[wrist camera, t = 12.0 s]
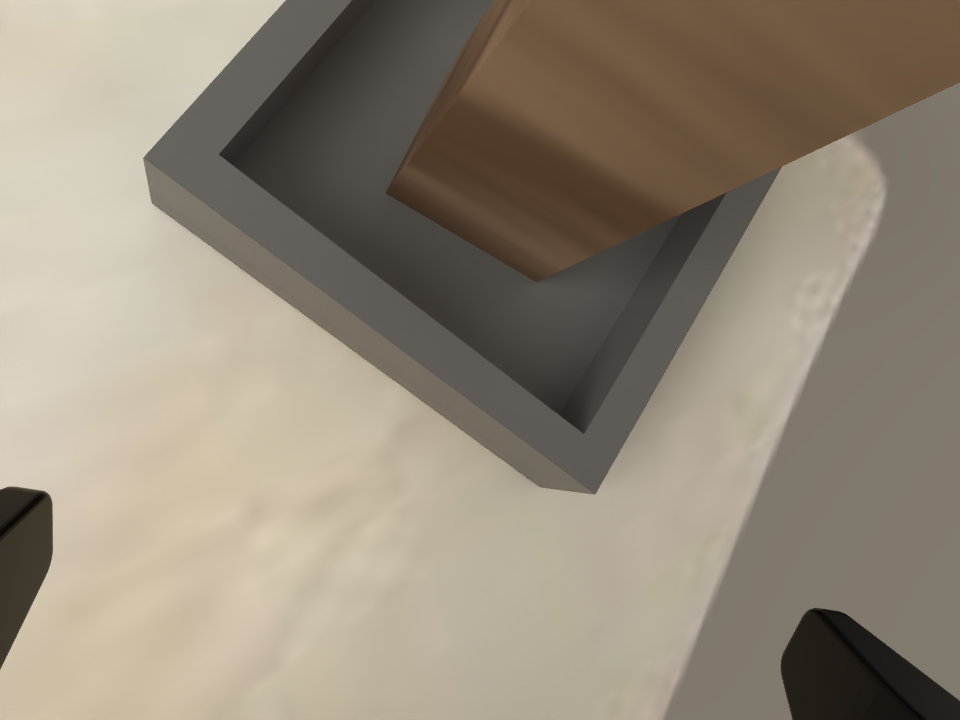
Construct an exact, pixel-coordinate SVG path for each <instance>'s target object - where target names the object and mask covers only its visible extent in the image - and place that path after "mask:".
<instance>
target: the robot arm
mask: <svg viewBox="0 0 960 720" xmlns="http://www.w3.org/2000/svg"><path fill="white" fill-rule="evenodd" d="M52 554H53V514H52V500H51V497H50V495H49V494H48V493H46V492H45V491H41V490H34V489H27V488H21V487H6V488H4V489H1V490H0V669H1V667H2V665H3V663H4V661H5V659H6V657H7V655H8V653H9V651H10V649H11V647H12V645H13V642H14V640H15V638H16V636H17V634H18V632H19V630H20V628H21V626H22V624H23V622H24V620H25V618H26V616H27V614H28V612H29V610H30V607H31V605H32V603H33V601H34V599H35V597H36V595H37V593H38V591H39V589H40V587H41V585H42V583H43V581H44V579H45V577H46V574H47V572H48V570H49V567H50V563H51V560H52ZM781 675H782V680H783V684H784V687H785V692H786V695H787V700H788V704H789V708H790V712H791V715H792V720H960V701H959V700H958V699H957V698H955V697H954V696H953V695H951V694H950V693H949V692H948V691H946V690H945V689H944V688H942V687H941V686H940V685H938V684H937V683H936V682H934V681H933V680H932V679H930V678H929V677H928V676H927V675H925V674H924V673H923V672H921V671H920V670H919V669H917V668H916V667H915V666H913V665H912V664H911V663H910V662H908V661H907V660H906V659H904V658H903V657H901V656H900V655H899V654H898V653H896V652H895V651H894V650H892V649H891V648H890V647H888V646H887V645H886V644H885V643H883V642H882V641H881V640H879V639H878V638H877V637H875V636H874V635H873V634H871V633H870V632H869V631H868V630H866V629H865V628H863V627H862V626H861V625H860V624H858V623H857V622H856V621H854V620H853V619H852V618H851V617H849V616H848V615H846V614H844V613H842V612H839V611H833V610H826V609H820V608H813V609H810V610H808V611H807V612H806V613H805V614H804V615H803V617H802V619H801V620H800V622H799V624H798V626H797V628H796V630H795V632H794V634H793V636H792V637H791V639H790V641H789V643H788V645H787V647H786V649H785V650H784V653H783V655H782V659H781Z"/></svg>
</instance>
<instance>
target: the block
mask: <svg viewBox="0 0 960 720" xmlns="http://www.w3.org/2000/svg"><path fill="white" fill-rule="evenodd" d="M959 82H960V0H494V1H493V2H492V4H491V5H490V7H489V8H488V10H487V11H486V13H485V14H484V16H483V17H482V19H481V20H480V21H479V23H478V24H477V26H476V27H475V29H474V30H473V32H472V33H471V35H470V36H469V38H468V39H467V41H466V42H465V44H464V45H463V47H462V48H461V50H460V51H459V53H458V55H457V57H456V59H455V61H454V63H453V65H452V67H451V69H450V71H449V73H448V74H447V76H446V78H445V80H444V82H443V84H442V86H441V88H440V90H439V92H438V94H437V95H436V97H435V99H434V101H433V103H432V105H431V107H430V109H429V111H428V113H427V115H426V116H425V118H424V120H423V122H422V124H421V126H420V128H419V130H418V132H417V134H416V136H415V137H414V139H413V141H412V143H411V145H410V147H409V149H408V151H407V153H406V155H405V157H404V158H403V160H402V162H401V164H400V166H399V168H398V170H397V172H396V174H395V176H394V178H393V179H392V181H391V183H390V185H389V187H388V189H387V191H386V194H387V195H389V196H391V197H393V198H394V199H396V200H398V201H399V202H401V203H403V204H404V205H406V206H408V207H409V208H411V209H413V210H415V211H416V212H418V213H420V214H421V215H423V216H425V217H426V218H428V219H430V220H431V221H433V222H435V223H437V224H438V225H440V226H442V227H443V228H445V229H447V230H448V231H450V232H452V233H453V234H455V235H457V236H459V237H460V238H462V239H464V240H465V241H467V242H469V243H470V244H472V245H474V246H476V247H477V248H479V249H481V250H482V251H484V252H486V253H487V254H489V255H491V256H492V257H494V258H496V259H498V260H499V261H501V262H503V263H504V264H506V265H508V266H509V267H511V268H513V269H514V270H516V271H518V272H520V273H521V274H523V275H525V276H526V277H528V278H530V279H531V280H533V281H535V282H538V281H540V280H542V279H544V278H547V277H549V276H551V275H553V274H555V273H557V272H559V271H561V270H563V269H566V268H568V267H570V266H572V265H574V264H576V263H578V262H580V261H583V260H585V259H587V258H589V257H591V256H593V255H595V254H597V253H599V252H602V251H604V250H606V249H608V248H610V247H612V246H614V245H616V244H618V243H621V242H623V241H625V240H627V239H629V238H631V237H633V236H635V235H638V234H640V233H642V232H644V231H646V230H648V229H650V228H652V227H654V226H657V225H659V224H661V223H663V222H665V221H667V220H669V219H671V218H673V217H676V216H678V215H680V214H682V213H684V212H686V211H688V210H690V209H693V208H695V207H697V206H699V205H701V204H703V203H705V202H707V201H709V200H712V199H714V198H716V197H718V196H720V195H722V194H724V193H726V192H728V191H731V190H733V189H735V188H737V187H739V186H741V185H743V184H745V183H748V182H750V181H752V180H754V179H756V178H758V177H760V176H762V175H764V174H767V173H769V172H771V171H773V170H775V169H777V168H779V167H781V166H783V165H786V164H788V163H790V162H792V161H794V160H796V159H798V158H800V157H802V156H805V155H807V154H809V153H811V152H813V151H815V150H817V149H819V148H822V147H824V146H826V145H828V144H830V143H832V142H834V141H836V140H838V139H841V138H843V137H845V136H847V135H849V134H851V133H853V132H855V131H857V130H860V129H862V128H864V127H866V126H868V125H870V124H872V123H874V122H877V121H878V120H881V119H883V118H885V117H887V116H889V115H891V114H893V113H895V112H898V111H900V110H902V109H904V108H906V107H908V106H910V105H912V104H914V103H917V102H919V101H921V100H923V99H925V98H927V97H929V96H932V95H934V94H936V93H938V92H940V91H942V90H944V89H946V88H948V87H951V86H953V85H954V84H957V83H959Z"/></svg>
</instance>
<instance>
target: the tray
mask: <svg viewBox="0 0 960 720" xmlns="http://www.w3.org/2000/svg"><path fill="white" fill-rule="evenodd" d="M493 1H494V0H286V1H285V2H284V3H283V4H282V5H281V6H280V7H279V9H278V10H277V11H276V12H275V13H274V14H273V15H272V16H271V17H270V19H269V20H268V21H267V22H266V23H265V24H264V25H263V26H262V27H261V28H260V30H259V31H258V32H257V33H256V34H255V35H254V36H253V37H252V38H251V40H250V41H249V42H248V43H247V44H246V45H245V46H244V47H243V48H242V49H241V51H240V52H239V53H238V54H237V55H236V56H235V57H234V58H233V59H232V61H231V62H230V63H229V64H228V65H227V66H226V67H225V68H224V69H223V70H222V72H221V73H220V74H219V75H218V76H217V77H216V78H215V79H214V80H213V82H212V83H211V84H210V85H209V86H208V87H207V88H206V89H205V90H204V91H203V93H202V94H201V95H200V96H199V97H198V98H197V99H196V100H195V101H194V103H193V104H192V105H191V106H190V107H189V108H188V109H187V110H186V111H185V112H184V114H183V115H182V116H181V117H180V118H179V119H178V120H177V121H176V122H175V124H174V125H173V126H172V127H171V128H170V129H169V130H168V131H167V132H166V133H165V135H164V136H163V137H162V138H161V139H160V140H159V141H158V142H157V143H156V145H155V146H154V147H153V148H152V149H151V150H150V151H149V152H148V153H147V154H146V156H145V157H144V158H143V159H144V164H145V170H146V175H147V180H148V185H149V191H150V196H151V201H152V204H154V205H155V206H157V207H158V208H159V209H161V210H162V211H163V212H165V213H166V214H167V215H169V216H170V217H172V218H173V219H174V220H176V221H177V222H178V223H180V224H181V225H182V226H184V227H185V228H187V229H188V230H189V231H191V232H192V233H193V234H195V235H196V236H198V237H199V238H200V239H202V240H203V241H204V242H206V243H207V244H208V245H210V246H211V247H213V248H214V249H215V250H217V251H218V252H219V253H221V254H222V255H224V256H225V257H226V258H228V259H229V260H230V261H232V262H233V263H234V264H236V265H237V266H239V267H240V268H241V269H243V270H244V271H245V272H247V273H248V274H249V275H251V276H252V277H254V278H255V279H256V280H258V281H259V282H260V283H262V284H263V285H265V286H266V287H267V288H269V289H270V290H271V291H273V292H274V293H275V294H277V295H278V296H280V297H281V298H282V299H284V300H285V301H286V302H288V303H289V304H291V305H292V306H293V307H295V308H296V309H297V310H299V311H300V312H301V313H303V314H304V315H306V316H307V317H308V318H310V319H311V320H312V321H314V322H315V323H316V324H318V325H319V326H321V327H322V328H323V329H325V330H326V331H327V332H329V333H330V334H332V335H333V336H334V337H336V338H337V339H338V340H340V341H341V342H342V343H344V344H345V345H347V346H348V347H349V348H351V349H352V350H353V351H355V352H356V353H357V354H359V355H360V356H362V357H363V358H364V359H366V360H367V361H368V362H370V363H371V364H373V365H374V366H375V367H377V368H378V369H379V370H381V371H382V372H383V373H385V374H386V375H388V376H389V377H390V378H392V379H393V380H394V381H396V382H397V383H399V384H400V385H401V386H403V387H404V388H405V389H407V390H408V391H409V392H411V393H412V394H414V395H415V396H416V397H418V398H419V399H420V400H422V401H423V402H424V403H426V404H427V405H429V406H430V407H431V408H433V409H434V410H435V411H437V412H438V413H440V414H441V415H442V416H444V417H445V418H446V419H448V420H449V421H450V422H452V423H453V424H455V425H456V426H457V427H459V428H460V429H461V430H463V431H464V432H466V433H467V434H468V435H470V436H471V437H472V438H474V439H475V440H476V441H478V442H479V443H481V444H482V445H483V446H485V447H486V448H487V449H489V450H490V451H491V452H493V453H494V454H496V455H497V456H498V457H500V458H501V459H502V460H504V461H505V462H507V463H508V464H509V465H511V466H512V467H513V468H515V469H516V470H517V471H519V472H520V473H522V474H523V475H524V476H526V477H527V478H528V479H530V480H531V481H532V482H534V483H535V484H537V485H538V486H539V487H542V488H550V489H557V490H565V491H573V492H580V493H588V494H596V492H597V490H598V488H599V487H600V485H601V483H602V481H603V480H604V478H605V476H606V474H607V473H608V471H609V469H610V467H611V466H612V464H613V462H614V460H615V459H616V457H617V455H618V453H619V452H620V450H621V448H622V446H623V444H624V443H625V441H626V439H627V437H628V436H629V434H630V432H631V430H632V429H633V427H634V425H635V423H636V422H637V420H638V418H639V416H640V415H641V413H642V411H643V409H644V408H645V406H646V404H647V402H648V401H649V399H650V397H651V395H652V394H653V392H654V390H655V388H656V387H657V385H658V383H659V381H660V380H661V378H662V376H663V374H664V372H665V371H666V369H667V367H668V365H669V364H670V362H671V360H672V358H673V357H674V355H675V353H676V351H677V350H678V348H679V346H680V344H681V343H682V341H683V339H684V337H685V336H686V334H687V332H688V330H689V329H690V327H691V325H692V323H693V322H694V320H695V318H696V316H697V315H698V313H699V311H700V309H701V308H702V306H703V304H704V302H705V300H706V299H707V297H708V295H709V293H710V292H711V290H712V288H713V286H714V285H715V283H716V281H717V279H718V278H719V276H720V274H721V272H722V271H723V269H724V267H725V265H726V264H727V262H728V260H729V258H730V257H731V255H732V253H733V251H734V250H735V248H736V246H737V244H738V243H739V241H740V239H741V237H742V236H743V234H744V232H745V230H746V229H747V227H748V225H749V223H750V221H751V220H752V218H753V216H754V214H755V213H756V211H757V209H758V207H759V206H760V204H761V202H762V200H763V199H764V197H765V195H766V193H767V192H768V190H769V188H770V186H771V185H772V183H773V181H774V179H775V178H776V176H777V174H778V172H779V171H780V169H781V167H782V166H781V167H779V168H777V169H775V170H773V171H771V172H769V173H767V174H764V175H762V176H760V177H758V178H756V179H754V180H752V181H750V182H748V183H745V184H743V185H741V186H739V187H737V188H735V189H733V190H731V191H728V192H726V193H724V194H722V195H720V196H718V197H716V198H714V199H712V200H709V201H707V202H705V203H703V204H701V205H699V206H697V207H695V208H693V209H690V210H688V211H686V212H684V213H682V214H680V215H678V216H676V217H673V218H671V219H669V220H667V221H665V222H663V223H661V224H659V225H657V226H654V227H652V228H650V229H648V230H646V231H644V232H642V233H640V234H638V235H635V236H633V237H631V238H629V239H627V240H625V241H623V242H621V243H618V244H616V245H614V246H612V247H610V248H608V249H606V250H604V251H602V252H599V253H597V254H595V255H593V256H591V257H589V258H587V259H585V260H583V261H580V262H578V263H576V264H574V265H572V266H570V267H568V268H566V269H563V270H561V271H559V272H557V273H555V274H553V275H551V276H549V277H547V278H544V279H542V280H540V281H538V282H535V281H533V280H531V279H530V278H528V277H526V276H525V275H523V274H521V273H520V272H518V271H516V270H514V269H513V268H511V267H509V266H508V265H506V264H504V263H503V262H501V261H499V260H498V259H496V258H494V257H492V256H491V255H489V254H487V253H486V252H484V251H482V250H481V249H479V248H477V247H476V246H474V245H472V244H470V243H469V242H467V241H465V240H464V239H462V238H460V237H459V236H457V235H455V234H453V233H452V232H450V231H448V230H447V229H445V228H443V227H442V226H440V225H438V224H437V223H435V222H433V221H431V220H430V219H428V218H426V217H425V216H423V215H421V214H420V213H418V212H416V211H415V210H413V209H411V208H409V207H408V206H406V205H404V204H403V203H401V202H399V201H398V200H396V199H394V198H393V197H391V196H389V195H387V194H386V191H387V189H388V187H389V185H390V183H391V181H392V179H393V178H394V176H395V174H396V172H397V170H398V168H399V166H400V164H401V162H402V160H403V158H404V157H405V155H406V153H407V151H408V149H409V147H410V145H411V143H412V141H413V139H414V137H415V136H416V134H417V132H418V130H419V128H420V126H421V124H422V122H423V120H424V118H425V116H426V115H427V113H428V111H429V109H430V107H431V105H432V103H433V101H434V99H435V97H436V95H437V94H438V92H439V90H440V88H441V86H442V84H443V82H444V80H445V78H446V76H447V74H448V73H449V71H450V69H451V67H452V65H453V63H454V61H455V59H456V57H457V55H458V53H459V51H460V50H461V48H462V47H463V45H464V44H465V42H466V41H467V39H468V38H469V36H470V35H471V33H472V32H473V30H474V29H475V27H476V26H477V24H478V23H479V21H480V20H481V19H482V17H483V16H484V14H485V13H486V11H487V10H488V8H489V7H490V5H491V4H492V2H493Z"/></svg>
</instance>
